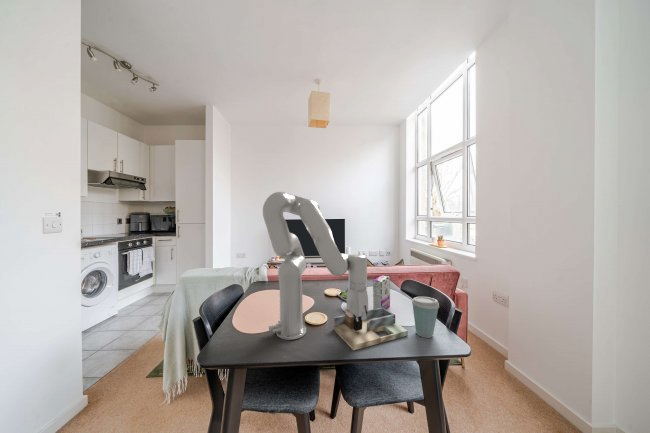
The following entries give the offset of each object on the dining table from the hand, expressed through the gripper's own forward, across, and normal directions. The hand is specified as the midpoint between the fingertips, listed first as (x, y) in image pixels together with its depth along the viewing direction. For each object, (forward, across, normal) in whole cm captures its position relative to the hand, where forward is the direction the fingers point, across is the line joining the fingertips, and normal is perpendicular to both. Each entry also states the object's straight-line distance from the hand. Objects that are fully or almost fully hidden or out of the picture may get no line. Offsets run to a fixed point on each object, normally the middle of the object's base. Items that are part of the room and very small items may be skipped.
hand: (357, 329), depth 96 cm
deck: (+3, -1, +6) cm, 7 cm away
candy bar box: (+3, -18, +26) cm, 32 cm away
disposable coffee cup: (+3, +10, +27) cm, 29 cm away
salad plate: (+4, -40, +22) cm, 46 cm away
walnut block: (+1, -6, +1) cm, 6 cm away
